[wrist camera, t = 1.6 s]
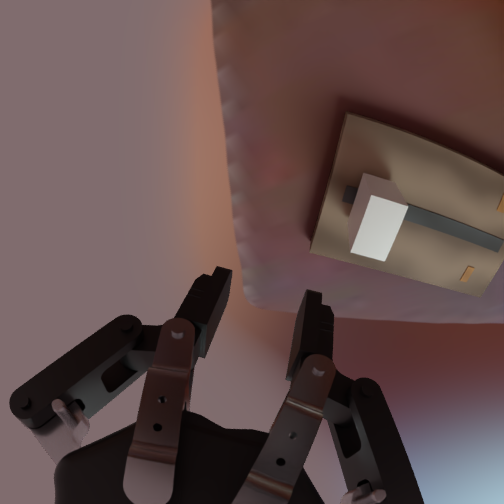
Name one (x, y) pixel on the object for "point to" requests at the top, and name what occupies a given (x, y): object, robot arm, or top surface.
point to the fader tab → (375, 217)
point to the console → (417, 207)
